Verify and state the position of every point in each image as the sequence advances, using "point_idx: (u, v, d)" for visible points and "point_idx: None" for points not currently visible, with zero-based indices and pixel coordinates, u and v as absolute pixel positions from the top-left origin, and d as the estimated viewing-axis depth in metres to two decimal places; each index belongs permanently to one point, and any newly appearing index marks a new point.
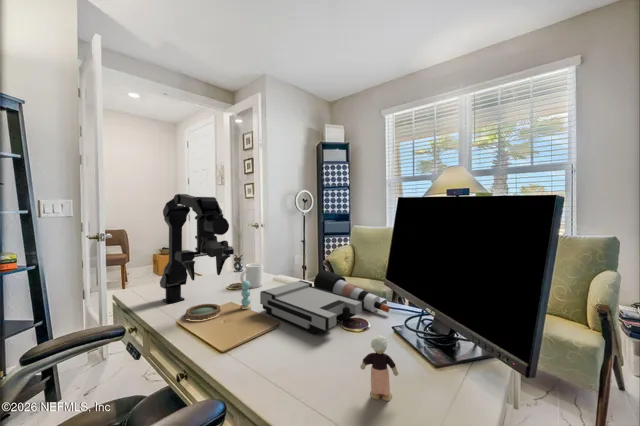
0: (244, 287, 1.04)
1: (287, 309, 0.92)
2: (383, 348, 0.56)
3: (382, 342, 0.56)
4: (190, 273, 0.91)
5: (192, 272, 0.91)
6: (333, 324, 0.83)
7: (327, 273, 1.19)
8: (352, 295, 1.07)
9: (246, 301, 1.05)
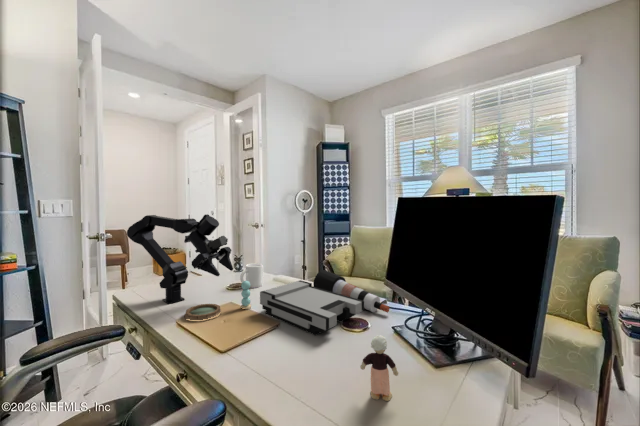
0: (244, 287, 1.04)
1: (287, 309, 0.92)
2: (383, 348, 0.56)
3: (382, 342, 0.56)
4: (213, 270, 1.03)
5: (214, 268, 1.03)
6: (333, 324, 0.83)
7: (327, 273, 1.19)
8: (352, 295, 1.07)
9: (246, 301, 1.05)
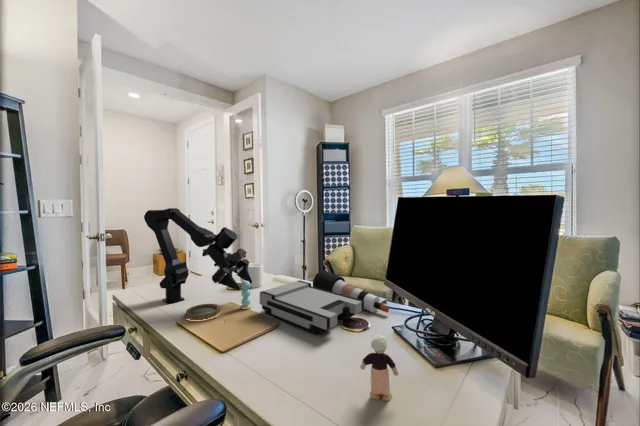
0: (244, 287, 1.04)
1: (287, 309, 0.91)
2: (383, 348, 0.56)
3: (382, 342, 0.56)
4: (234, 285, 1.01)
5: (235, 282, 1.01)
6: (334, 324, 0.83)
7: (326, 273, 1.19)
8: (351, 295, 1.07)
9: (246, 301, 1.05)
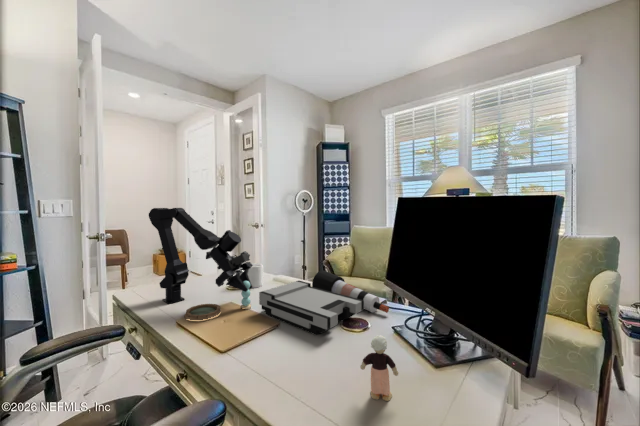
0: None
1: (287, 309, 0.91)
2: (383, 348, 0.56)
3: (382, 342, 0.56)
4: (241, 286, 1.03)
5: (242, 283, 1.04)
6: (334, 323, 0.83)
7: (325, 273, 1.18)
8: (351, 295, 1.06)
9: (246, 301, 1.05)
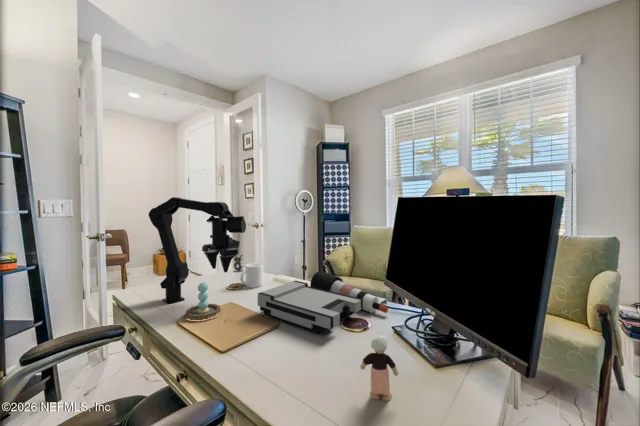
0: (199, 289, 0.98)
1: (288, 310, 0.91)
2: (383, 348, 0.56)
3: (382, 342, 0.56)
4: (227, 266, 1.09)
5: None
6: (337, 323, 0.84)
7: (324, 274, 1.18)
8: None
9: (201, 305, 0.98)
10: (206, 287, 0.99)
